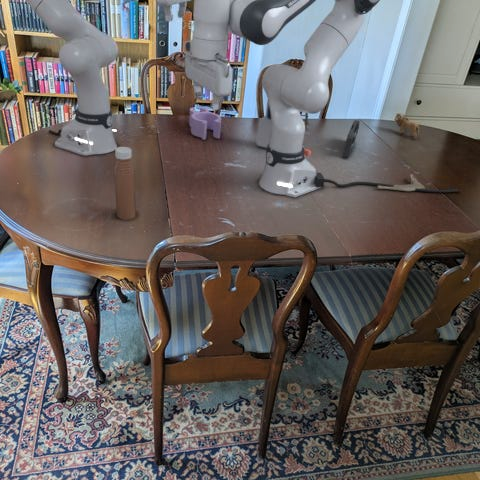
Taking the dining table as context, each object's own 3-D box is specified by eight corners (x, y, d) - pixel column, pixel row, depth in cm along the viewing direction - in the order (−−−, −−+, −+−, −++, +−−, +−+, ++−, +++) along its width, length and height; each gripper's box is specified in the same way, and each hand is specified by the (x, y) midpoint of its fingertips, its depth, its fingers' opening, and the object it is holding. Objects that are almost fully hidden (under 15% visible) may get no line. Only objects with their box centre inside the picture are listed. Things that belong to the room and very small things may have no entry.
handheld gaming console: (349, 160, 187) (354, 136, 182) (342, 158, 188) (347, 134, 183) (355, 142, 206) (361, 119, 201) (349, 140, 207) (354, 118, 201)
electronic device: (288, 147, 193) (299, 72, 177) (283, 153, 187) (295, 76, 171) (259, 141, 196) (268, 67, 179) (254, 147, 190) (262, 71, 173)
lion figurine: (389, 131, 222) (394, 113, 217) (394, 129, 226) (399, 111, 221) (418, 140, 215) (424, 121, 210) (423, 138, 218) (429, 119, 214)
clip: (182, 123, 206) (183, 107, 202) (209, 122, 210) (210, 106, 207) (197, 140, 191) (197, 123, 187) (225, 138, 195) (226, 122, 191)
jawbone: (429, 189, 172) (431, 184, 171) (394, 201, 161) (396, 196, 160) (410, 177, 177) (412, 172, 176) (375, 189, 167) (376, 184, 165)
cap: (114, 153, 127) (114, 147, 126) (130, 153, 129) (130, 146, 128) (116, 160, 124) (116, 153, 123) (132, 159, 125) (132, 152, 124)
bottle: (115, 211, 138) (111, 147, 127) (134, 209, 139) (132, 146, 129) (118, 220, 133) (114, 155, 123) (137, 218, 135) (135, 154, 124)
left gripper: (179, -35, 146) (178, 14, 153) (151, -33, 129) (151, 21, 136) (198, -32, 144) (196, 17, 152) (172, -31, 128) (171, 24, 135)
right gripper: (240, 59, 113) (235, 115, 120) (202, 41, 127) (199, 92, 134) (217, 59, 110) (213, 117, 117) (181, 41, 124) (179, 93, 131)
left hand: (175, 19), depth 144 cm, fingers open, 8 cm apart
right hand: (206, 103), depth 126 cm, fingers open, 8 cm apart
